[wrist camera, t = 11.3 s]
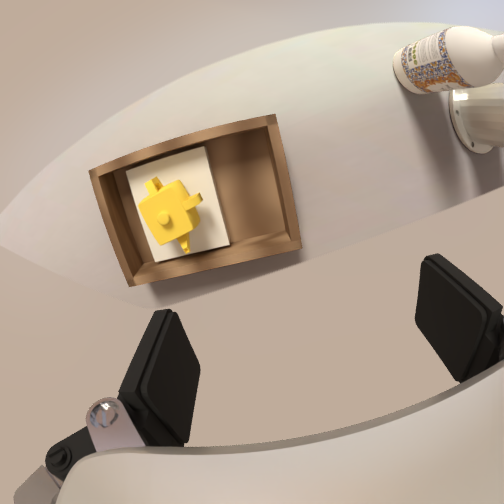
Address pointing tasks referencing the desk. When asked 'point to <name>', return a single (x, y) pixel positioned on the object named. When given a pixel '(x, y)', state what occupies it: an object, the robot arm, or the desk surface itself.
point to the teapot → (170, 212)
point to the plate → (194, 180)
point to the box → (230, 193)
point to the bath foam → (450, 61)
